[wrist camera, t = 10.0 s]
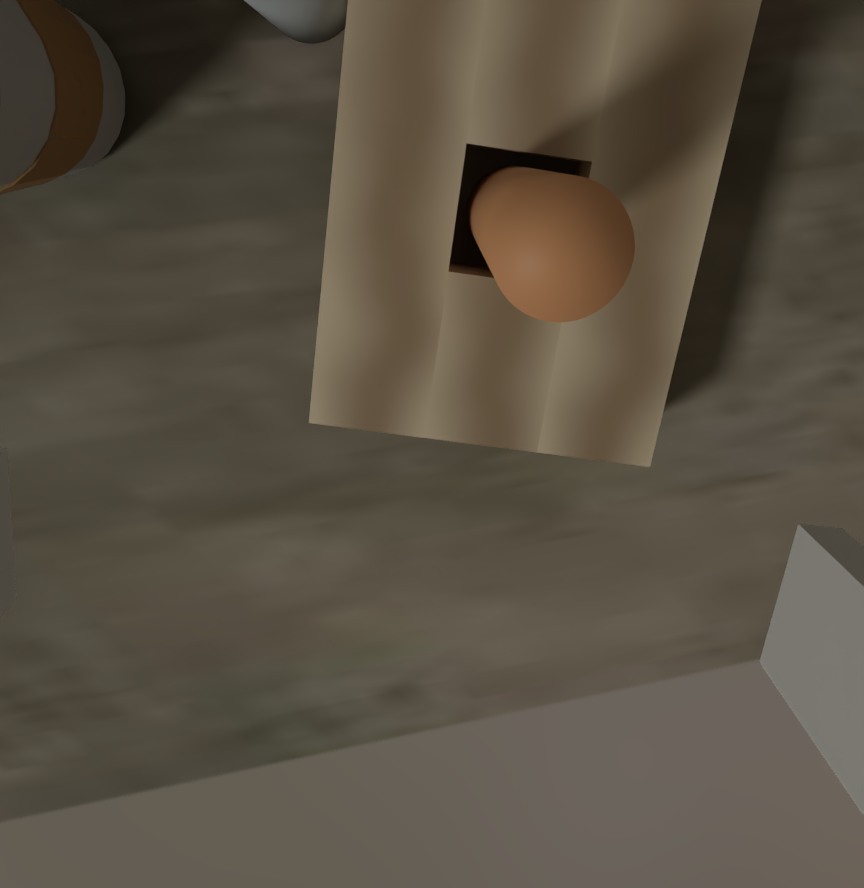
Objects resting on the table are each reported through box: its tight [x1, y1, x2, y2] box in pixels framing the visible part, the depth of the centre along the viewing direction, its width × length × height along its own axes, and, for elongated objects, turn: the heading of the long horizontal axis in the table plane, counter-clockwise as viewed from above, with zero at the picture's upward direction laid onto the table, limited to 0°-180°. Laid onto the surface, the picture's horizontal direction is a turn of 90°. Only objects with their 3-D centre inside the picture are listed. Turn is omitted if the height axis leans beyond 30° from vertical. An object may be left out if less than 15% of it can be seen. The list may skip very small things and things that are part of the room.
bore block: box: [309, 0, 762, 467], centre depth 33 cm, size 14×18×4 cm
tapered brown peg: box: [467, 166, 635, 322], centre depth 27 cm, size 4×4×14 cm
